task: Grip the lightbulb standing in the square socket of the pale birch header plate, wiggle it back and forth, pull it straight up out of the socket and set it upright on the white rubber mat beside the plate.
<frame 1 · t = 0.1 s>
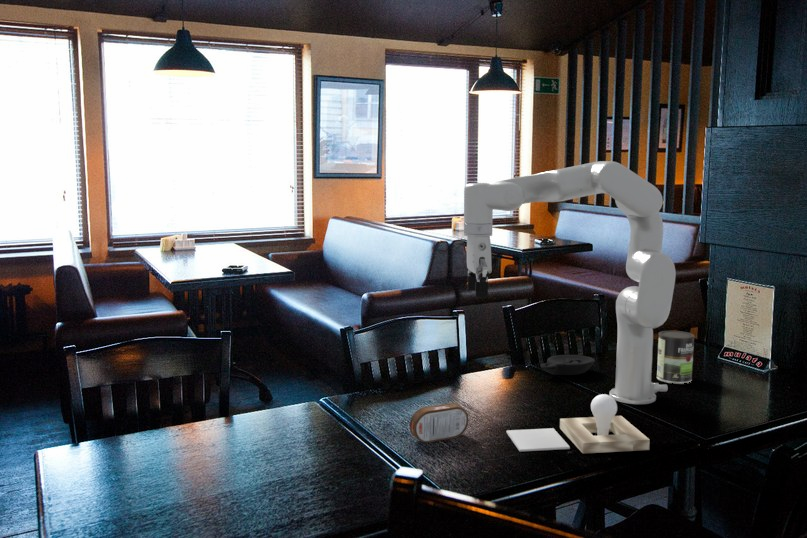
hand: (477, 293, 197), 31 cm above the table, fingers open, 9 cm apart
tin: (439, 440, 178), on the table
rubber mat: (537, 440, 176), on the table
coffee can: (674, 379, 224), on the table
lightbulb: (602, 439, 177), resting in header plate
header plate: (602, 438, 177), on the table
oil lamp: (564, 374, 230), on the table
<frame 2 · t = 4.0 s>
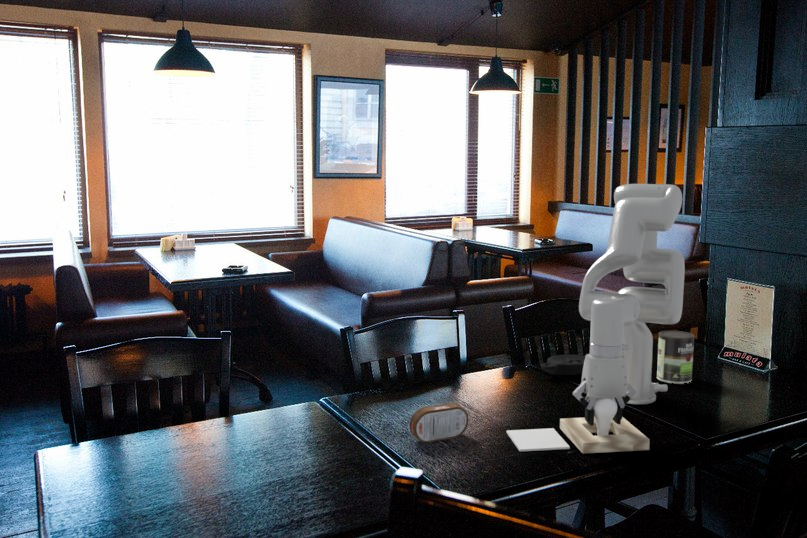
hand: (603, 422, 177), 4 cm above the table, fingers closed on lightbulb, 6 cm apart
lightbulb: (602, 439, 177), resting in header plate, touching gripper
everything else where it was.
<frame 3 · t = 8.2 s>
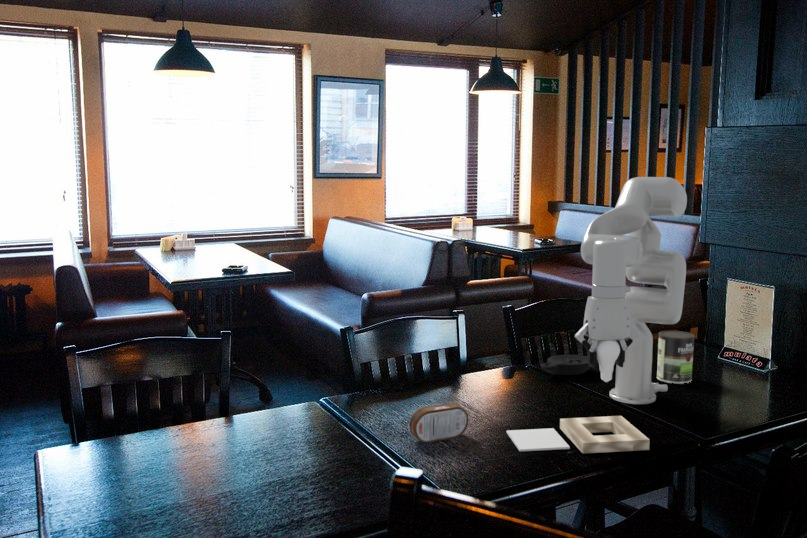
hand: (605, 365, 175), 18 cm above the table, fingers closed on lightbulb, 6 cm apart
lightbulb: (606, 382, 175), point 14 cm above the table, touching gripper
everything else where it was.
when the fingers open (5 cm above the table, at t = 12.4 s): lightbulb stays where it is, resting on rubber mat.
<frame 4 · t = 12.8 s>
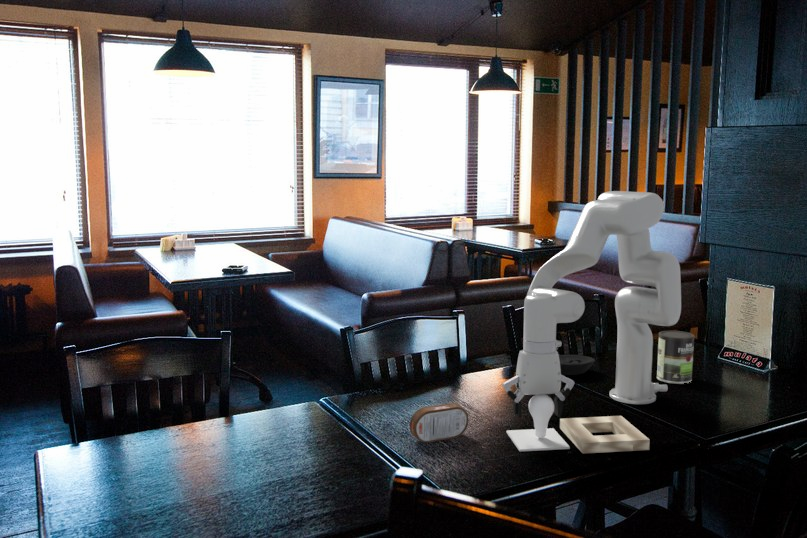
hand: (537, 416, 175), 6 cm above the table, fingers open, 9 cm apart
lightbulb: (540, 438, 176), resting on rubber mat
everything else where it was.
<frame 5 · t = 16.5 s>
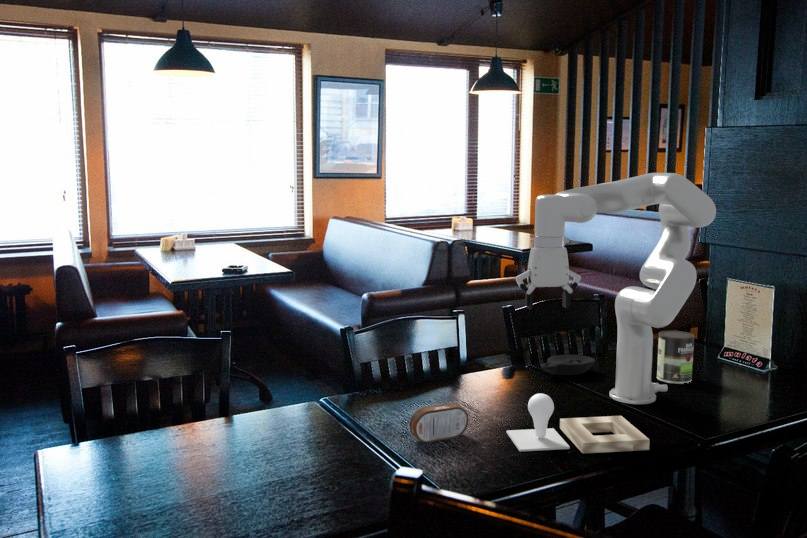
hand: (547, 307, 192), 28 cm above the table, fingers open, 9 cm apart
nothing on the table moved.
at the end: lightbulb inside the target area on the rubber mat (0.8 cm from its centre), point 0.3 cm above the rubber mat's base; lightbulb tilted 1°; the gripper is holding nothing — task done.
